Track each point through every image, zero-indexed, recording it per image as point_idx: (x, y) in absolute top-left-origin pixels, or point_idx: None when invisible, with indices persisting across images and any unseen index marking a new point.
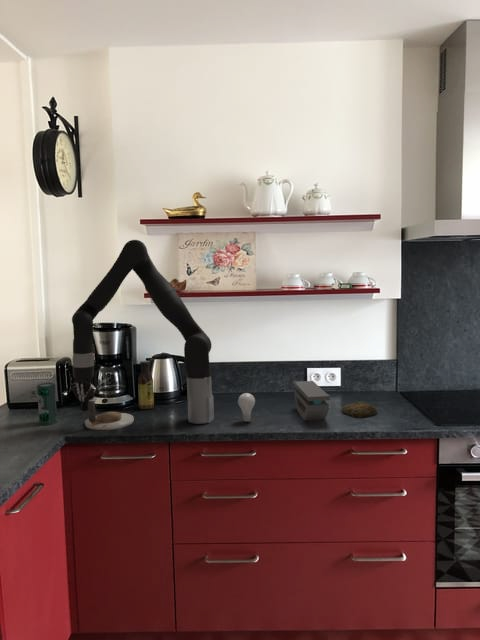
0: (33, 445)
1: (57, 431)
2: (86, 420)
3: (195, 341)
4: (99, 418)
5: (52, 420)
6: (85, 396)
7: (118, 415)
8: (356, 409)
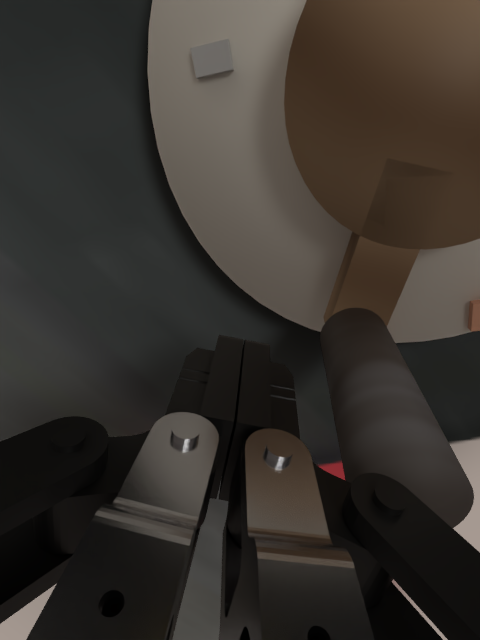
0: (200, 580)
1: (134, 416)
2: (190, 213)
3: None
4: (393, 262)
5: None
6: (208, 489)
7: None
8: None
